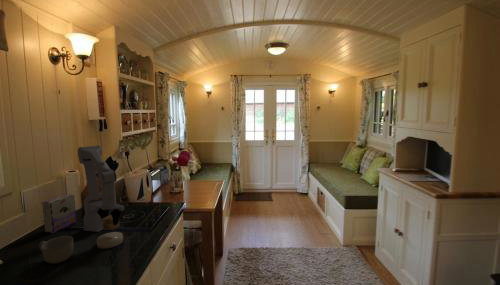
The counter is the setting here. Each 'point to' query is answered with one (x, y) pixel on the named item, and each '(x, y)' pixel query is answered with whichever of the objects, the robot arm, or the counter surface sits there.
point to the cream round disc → (109, 240)
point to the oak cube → (109, 223)
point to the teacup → (57, 249)
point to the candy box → (59, 213)
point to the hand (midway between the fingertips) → (110, 224)
